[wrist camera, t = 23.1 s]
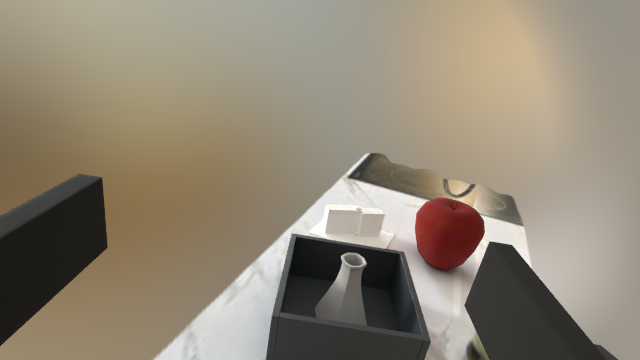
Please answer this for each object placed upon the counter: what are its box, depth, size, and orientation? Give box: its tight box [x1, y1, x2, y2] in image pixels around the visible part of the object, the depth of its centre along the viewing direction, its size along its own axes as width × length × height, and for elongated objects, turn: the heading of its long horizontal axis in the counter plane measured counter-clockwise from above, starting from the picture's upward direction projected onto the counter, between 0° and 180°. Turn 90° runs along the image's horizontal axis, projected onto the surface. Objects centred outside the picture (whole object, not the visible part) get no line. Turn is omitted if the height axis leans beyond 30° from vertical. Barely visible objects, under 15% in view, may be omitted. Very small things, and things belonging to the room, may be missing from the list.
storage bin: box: [266, 234, 431, 360], centre depth 49 cm, size 18×18×8 cm
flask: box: [314, 253, 367, 326], centre depth 48 cm, size 7×7×10 cm
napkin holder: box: [309, 204, 394, 249], centre depth 73 cm, size 15×11×6 cm
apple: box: [415, 198, 485, 270], centre depth 67 cm, size 12×12×13 cm
